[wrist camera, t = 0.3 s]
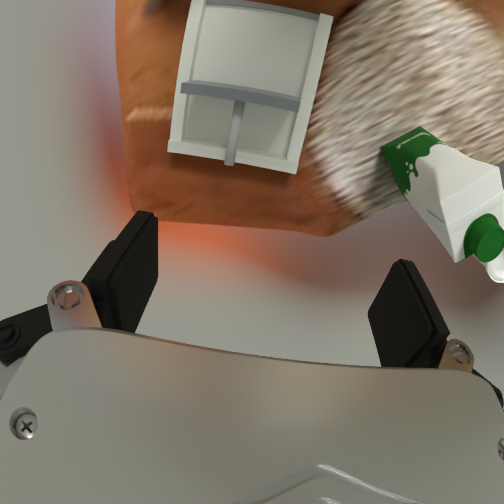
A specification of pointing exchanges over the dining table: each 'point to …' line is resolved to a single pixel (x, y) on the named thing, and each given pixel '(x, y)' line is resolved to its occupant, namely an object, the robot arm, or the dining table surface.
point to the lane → (248, 79)
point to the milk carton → (450, 194)
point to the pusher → (239, 105)
